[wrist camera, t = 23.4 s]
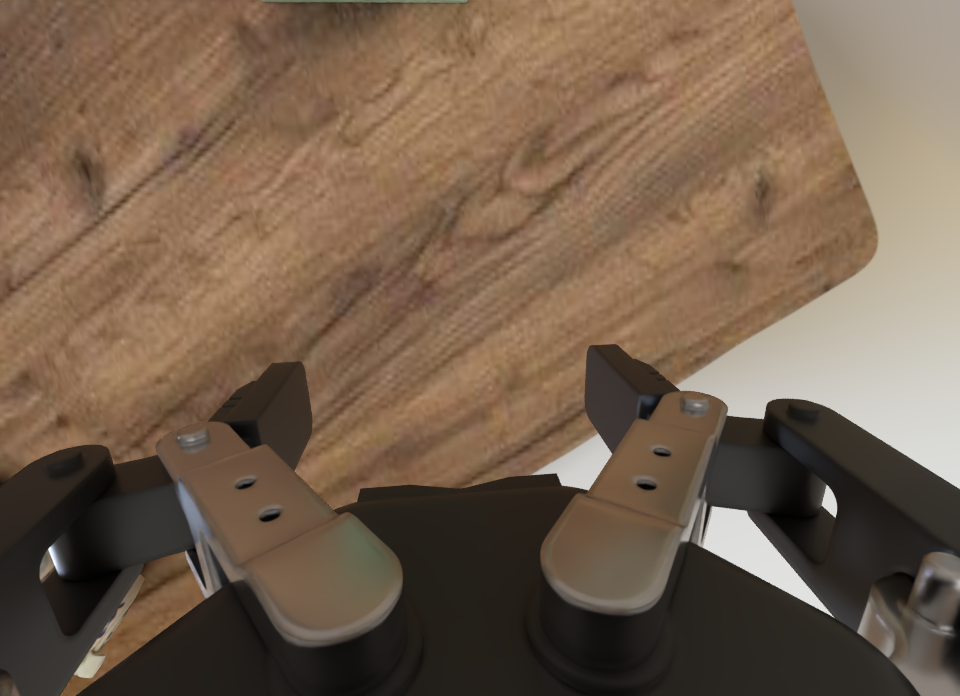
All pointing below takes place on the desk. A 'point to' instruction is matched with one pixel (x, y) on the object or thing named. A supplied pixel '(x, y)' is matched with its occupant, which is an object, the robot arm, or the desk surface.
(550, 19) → the desk surface
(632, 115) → the desk surface
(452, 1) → the tray
